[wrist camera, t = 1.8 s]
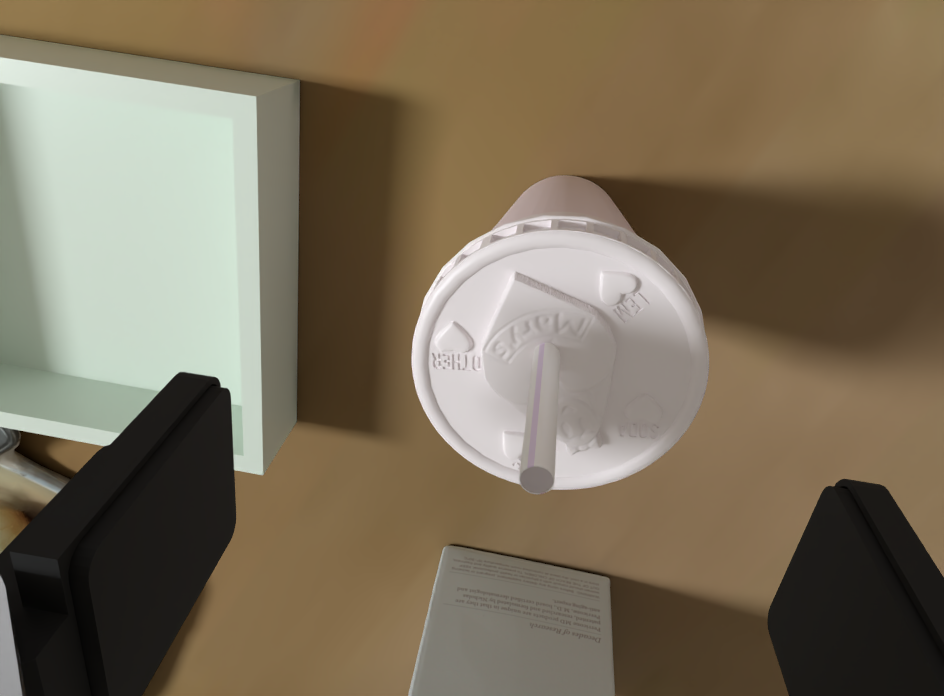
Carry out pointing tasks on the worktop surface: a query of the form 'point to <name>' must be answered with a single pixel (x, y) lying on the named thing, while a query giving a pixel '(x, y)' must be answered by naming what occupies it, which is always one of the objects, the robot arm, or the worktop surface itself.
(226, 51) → the worktop surface
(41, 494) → the avocado toast plate
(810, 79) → the worktop surface
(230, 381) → the bin
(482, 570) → the supplement box
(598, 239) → the smoothie
